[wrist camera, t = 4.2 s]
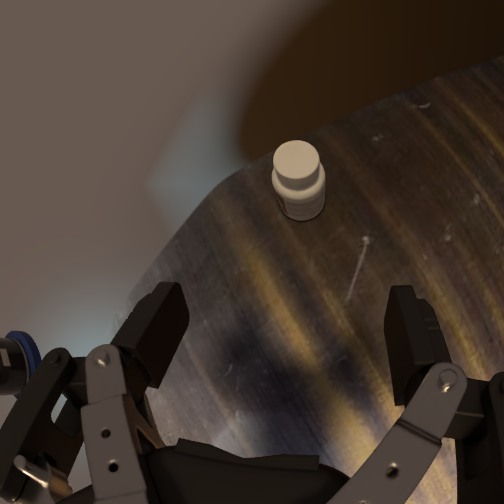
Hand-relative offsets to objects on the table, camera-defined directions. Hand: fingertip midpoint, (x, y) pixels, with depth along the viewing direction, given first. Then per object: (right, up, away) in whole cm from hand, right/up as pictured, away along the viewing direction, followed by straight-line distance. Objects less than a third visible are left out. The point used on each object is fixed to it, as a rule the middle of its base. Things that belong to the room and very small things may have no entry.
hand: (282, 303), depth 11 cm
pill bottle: (+4, +7, +18) cm, 19 cm away
